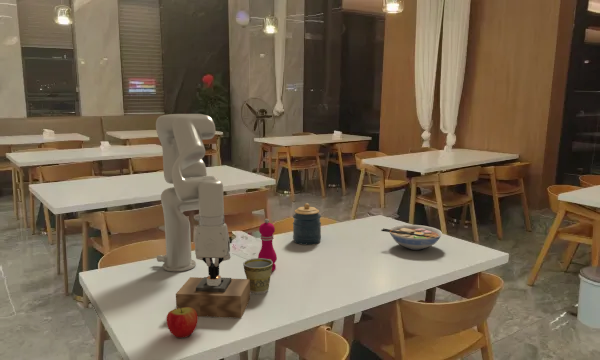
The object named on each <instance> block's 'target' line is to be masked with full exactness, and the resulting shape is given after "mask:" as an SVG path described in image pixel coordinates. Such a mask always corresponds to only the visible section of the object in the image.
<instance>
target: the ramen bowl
mask: <svg viewBox="0 0 600 360" xmlns="http://www.w3.org/2000/svg"><path fill="white" fill-rule="evenodd" d="M380 232H387V233H389V234H390V236H391V237H392V239H393V241H394V242H396V244H398V245H400V246H402V247H404V248H406V249H409V250H413V251H416V250H417V251H419V250H422V249H426V248H429V247H432V246H433V245H435V244H436V243H437V242H438V241H439V240H440V239H441V237H442V235H443V232H442V231H441V230H440V229H438V228H436V227H432V226H427V225H421V224H420V225H419V224H401V225H395V226H392V227H390V228H389V229H388V228H382V229H381V230H380Z"/></svg>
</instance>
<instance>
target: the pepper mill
mask: <svg viewBox="0 0 600 360" xmlns="http://www.w3.org/2000/svg"><path fill="white" fill-rule="evenodd" d="M275 230H276V227H275V225H274V224H273V223H271V222H270V219H269V218H265V219H264V222H263V223H261V224H260V226H259V228H258V232H259V234H260V240H261V248H260V251H259V252H258V256H257V258H264V259H271V260H272V262H273V265H272V272H274V271H275V270H276V269H277V268H276V266H277V265H276V262H277V260H278V256H277V253H276V250H275V249H274V245H273V240H274V238H275V237H274V236H275V235H274V234H275V232H276V231H275Z"/></svg>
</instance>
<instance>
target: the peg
mask: <svg viewBox="0 0 600 360" xmlns="http://www.w3.org/2000/svg"><path fill="white" fill-rule="evenodd" d="M206 277H207V286H220V285H221V278H222V276H221V275H220V274H219V275H218V276H217V278H216V279H214V278H212V279H210V275H208V276H206Z"/></svg>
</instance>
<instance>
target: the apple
mask: <svg viewBox="0 0 600 360" xmlns="http://www.w3.org/2000/svg"><path fill="white" fill-rule="evenodd" d="M177 305H178V306H179V307H180V305H179V304H177ZM198 319H199V317H198V316H197V312H196V311H195V309H193V308H191V307H184V308H181V307H180V308H178V309H176V308H174V309H172V310H170V311H168V313H167V315H166V326H167V329H168V330H169V332H170V333H171V334H172V335H173V336H174V337H176V338H180V339H182V338H187V337H189V336H190V335H192V334H194V332H195V330H196V328H197V326H198V322H199V321H198Z"/></svg>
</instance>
